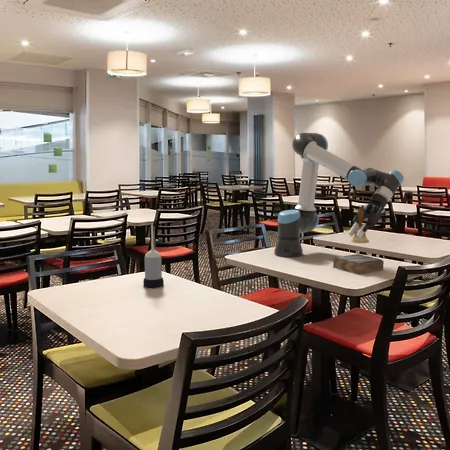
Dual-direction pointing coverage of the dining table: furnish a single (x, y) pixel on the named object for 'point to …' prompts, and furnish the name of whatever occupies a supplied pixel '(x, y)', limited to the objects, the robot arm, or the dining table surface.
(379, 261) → the bell stand
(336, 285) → the dining table surface
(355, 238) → the hand bell
